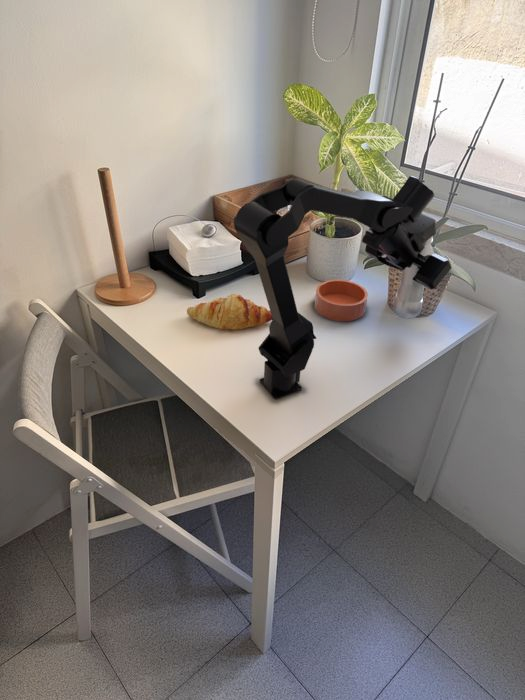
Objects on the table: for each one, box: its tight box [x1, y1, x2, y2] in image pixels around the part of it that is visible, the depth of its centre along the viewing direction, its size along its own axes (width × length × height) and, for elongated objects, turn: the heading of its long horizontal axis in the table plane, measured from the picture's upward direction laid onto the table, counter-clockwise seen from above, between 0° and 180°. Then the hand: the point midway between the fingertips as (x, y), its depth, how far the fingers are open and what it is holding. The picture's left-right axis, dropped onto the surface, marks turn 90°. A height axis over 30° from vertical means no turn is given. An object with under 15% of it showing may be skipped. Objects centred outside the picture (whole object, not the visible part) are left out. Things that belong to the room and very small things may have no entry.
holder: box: [314, 279, 369, 322], centre depth 127 cm, size 13×13×4 cm
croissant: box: [186, 293, 273, 330], centre depth 120 cm, size 21×10×8 cm, turn 87°
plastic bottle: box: [392, 236, 435, 320], centre depth 111 cm, size 6×7×20 cm
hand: (418, 275), depth 111 cm, fingers closed on plastic bottle, 6 cm apart
